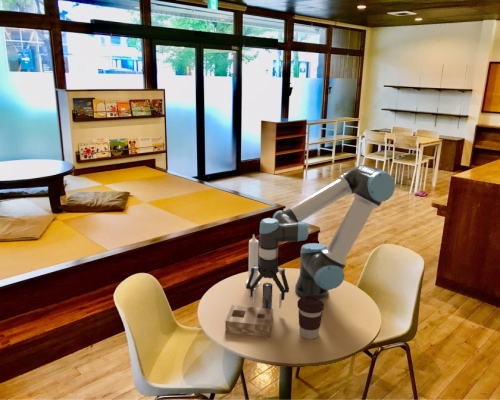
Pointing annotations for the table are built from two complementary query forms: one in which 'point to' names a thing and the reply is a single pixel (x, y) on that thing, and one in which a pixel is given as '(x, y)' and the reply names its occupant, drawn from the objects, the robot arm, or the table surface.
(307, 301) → the coffee cup
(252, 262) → the candle
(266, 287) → the steel pin
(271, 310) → the oak block
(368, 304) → the table surface
